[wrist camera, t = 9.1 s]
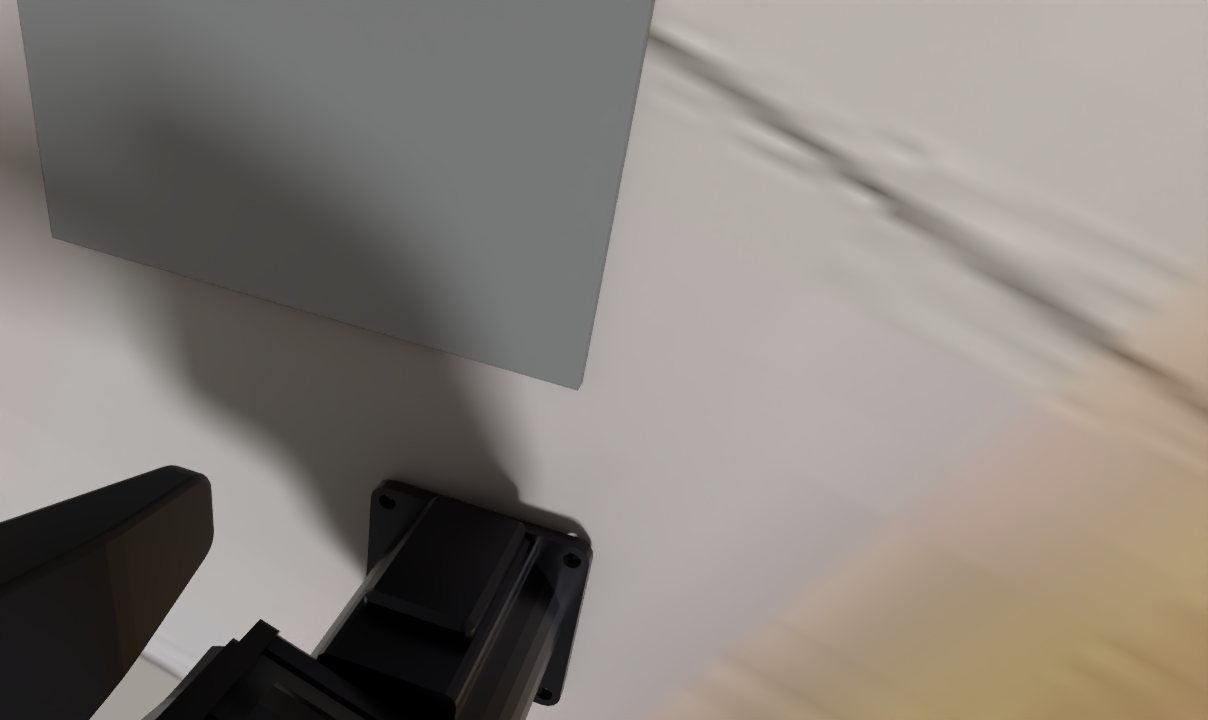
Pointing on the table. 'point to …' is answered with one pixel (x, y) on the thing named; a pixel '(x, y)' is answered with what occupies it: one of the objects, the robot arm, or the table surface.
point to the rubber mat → (352, 156)
